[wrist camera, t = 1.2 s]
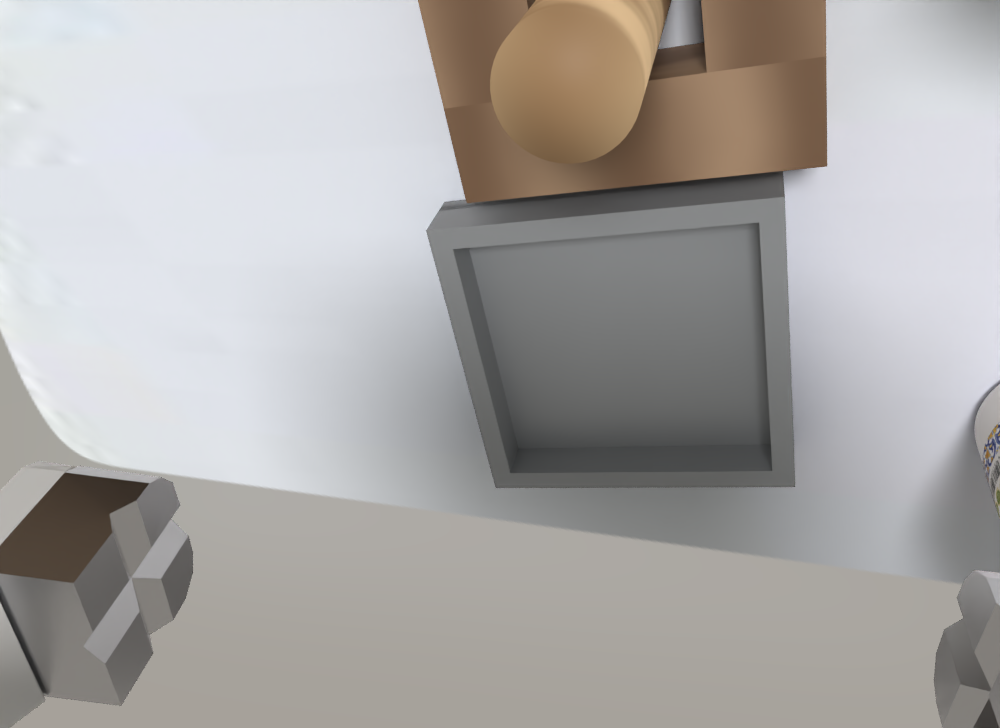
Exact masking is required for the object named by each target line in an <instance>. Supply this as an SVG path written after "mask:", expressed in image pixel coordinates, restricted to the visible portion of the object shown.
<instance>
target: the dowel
mask: <svg viewBox="0 0 1000 728" xmlns="http://www.w3.org/2000/svg"><path fill="white" fill-rule="evenodd" d="M670 3H671V0H536V1H535V2H534V3H533V5H532V6H531V7H530V8H529V10H528V11H527V12H526V13H525V15H524V16H523V17H522V18H521V20H520V21H519V22H518V24H517V25H516V26H515V27H514V29H513V30H512V31H511V32H510V34H509V35H508V36H507V38H506V39H505V40H504V42H503V43H502V44H501V46H500V48H499V50H498V52H497V54H496V57H495V59H494V62H493V66H492V70H491V77H490V93H491V100H492V104H493V107H494V111H495V113H496V115H497V118H498V120H499V122H500V124H501V125H502V127H503V129H504V130H505V131H506V133H507V134H508V135H509V136H510V137H511V139H512V140H513V141H514V142H515V143H516V144H518V145H519V146H520V147H521V148H523V149H524V150H526V151H527V152H529V153H530V154H532V155H534V156H536V157H538V158H541V159H544V160H547V161H550V162H555V163H564V164H574V163H582V162H587V161H590V160H593V159H596V158H598V157H601V156H603V155H605V154H606V153H608V152H609V151H611V150H613V149H614V148H615V147H616V146H617V145H619V144H620V143H621V142H622V140H623V139H624V138H625V137H626V136H627V135H628V133H629V132H630V130H631V129H632V127H633V125H634V123H635V121H636V119H637V117H638V114H639V111H640V108H641V104H642V101H643V97H644V94H645V90H646V87H647V83H648V80H649V76H650V73H651V69H652V66H653V62H654V59H655V56H656V52H657V49H658V45H659V42H660V38H661V35H662V31H663V28H664V24H665V21H666V17H667V14H668V10H669V7H670Z"/></svg>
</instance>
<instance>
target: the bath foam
mask: <svg viewBox="0 0 1000 728" xmlns="http://www.w3.org/2000/svg"><path fill="white" fill-rule="evenodd" d="M974 433H975V440H976V444H977V448H978V451H979V454H980V457H981V460H982V463H983V467H984V471H985V474H986V477H987V480H988V484H989V487H990V490H991V493H992V496H993V499H994V502H995V506H996V509H997V512H998V515H999V518H1000V384H999V385H998V386H997V387H995V388H994V389H993V390H992V391H991V392H990V394H989V395H988V396H987V397H986V398H985V400H984V401H983V403H982V405H981V406H980V408H979V410H978V413H977V416H976V420H975V427H974Z"/></svg>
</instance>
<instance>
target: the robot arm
mask: <svg viewBox="0 0 1000 728" xmlns="http://www.w3.org/2000/svg"><path fill="white" fill-rule="evenodd" d="M179 506H180V503H179V500H178V497H177V494H176V491H175V488H174V485H173V482H171V481H168V480H166V479H164V478H162V477H155V476H148V475H141V474H133V473H127V472H120V471H112V470H105V469H98V468H91V467H84V466H78V467H76V466H69V465H62V464H56V463H49V462H42V461H37V462H34V463H32V464H29V465H27V466H24V467H22V469H20V470H19V471H18V472H17V474H16V475H15V476H14V477H13V478H12V479H11V480H10V481H9V482H8V483H7V484H6V485H5V486H4V487H3V488H2V489H1V490H0V728H10V727H11V726H13V725H14V724H15V723H17V722H18V721H19V720H21V719H22V718H23V717H24V716H26V715H27V714H29V713H30V712H31V711H32V710H34V709H35V708H37V707H38V706H39V705H41V704H42V703H43V702H45V697H44V696H47V697H55V698H63V699H71V700H79V701H87V702H95V703H103V704H112V705H119V706H121V705H122V704H123V702H124V700H125V699H126V697H127V695H128V694H129V692H130V691H131V689H132V687H133V686H134V684H135V682H136V681H137V679H138V677H139V676H140V674H141V672H142V671H143V669H144V668H145V666H146V664H147V663H148V661H149V659H150V658H151V656H152V654H153V650H152V644H151V638H150V634H152V633H153V632H155V631H156V630H158V629H160V628H161V627H163V626H164V625H166V624H167V623H169V622H171V621H172V620H174V618H175V616H176V614H177V613H178V611H179V609H180V608H181V606H182V604H183V602H184V601H185V599H186V596H187V592H188V588H189V585H190V581H191V577H192V574H193V551H192V547H191V544H190V539H189V536H188V535H187V534H186V533H185V532H184V531H183V530H182V529H181V528H180V527H179V526H178V525H177V524H176V523H175V522H174V521H173V520H172V519H171V518H172V517H173V515H174V514H175V512H176V511H177V509H178V508H179ZM957 599H958V603H959V606H960V609H961V612H962V615H963V619H961V620H959V621H958V622H956V623H954V624H953V625H951V626H949V627H948V628H946V629H945V630H944V632H943V635H942V638H941V641H940V644H939V647H938V650H937V652H936V663H935V674H934V685H935V694H936V703H937V707H938V711H939V715H940V719H941V723H942V727H943V728H1000V573H999V572H990V571H980V570H973V571H972V572H971V573H970V574H969V575H968V576H967V577H966V578H965V580H964V582H963V585H962V587H961V590H960V592H959V594H958V597H957Z"/></svg>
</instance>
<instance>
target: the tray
mask: <svg viewBox="0 0 1000 728" xmlns="http://www.w3.org/2000/svg"><path fill="white" fill-rule="evenodd" d="M426 232H427V235H428V239H429V243H430V246H431V250H432V254H433V258H434V261H435V265H436V269H437V272H438V276H439V280H440V283H441V287H442V291H443V294H444V298H445V302H446V306H447V309H448V313H449V317H450V320H451V324H452V328H453V331H454V335H455V339H456V342H457V346H458V350H459V354H460V357H461V361H462V365H463V368H464V372H465V376H466V379H467V383H468V387H469V390H470V394H471V398H472V402H473V405H474V409H475V413H476V416H477V420H478V424H479V427H480V431H481V435H482V438H483V442H484V446H485V450H486V453H487V457H488V461H489V464H490V468H491V472H492V475H493V479H494V483H495V486H496V488H603V487H795V471H794V443H793V415H792V387H791V360H790V332H789V304H788V276H787V249H786V221H785V195H784V182H783V171H777V172H767V173H757V174H747V175H738V176H728V177H718V178H708V179H699V180H689V181H679V182H669V183H660V184H650V185H640V186H630V187H621V188H611V189H601V190H591V191H582V192H572V193H562V194H552V195H543V196H533V197H523V198H513V199H504V200H494V201H484V202H474V203H467V202H466V200H459V201H450V202H444V204H443V205H442V207H441V209H440V210H439V212H438V213H437V215H436V216H435V218H434V219H433V221H432V222H431V224H430V226H429V227H428V229H427V230H426Z"/></svg>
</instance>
